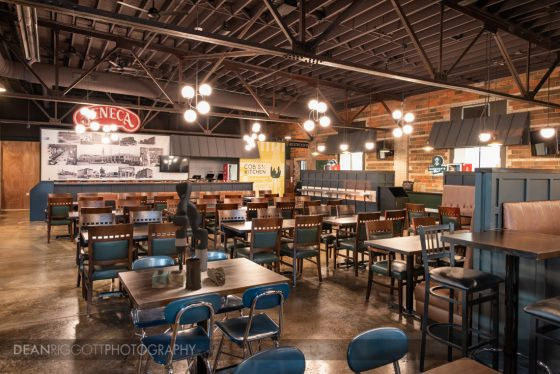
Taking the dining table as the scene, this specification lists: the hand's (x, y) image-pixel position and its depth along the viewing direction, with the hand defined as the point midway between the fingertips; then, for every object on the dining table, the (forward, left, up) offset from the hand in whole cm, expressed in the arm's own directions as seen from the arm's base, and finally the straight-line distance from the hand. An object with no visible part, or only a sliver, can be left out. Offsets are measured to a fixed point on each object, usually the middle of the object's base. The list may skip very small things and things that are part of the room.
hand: (180, 269), depth 257 cm
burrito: (-24, -4, -11) cm, 27 cm away
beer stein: (-9, +14, -11) cm, 20 cm away
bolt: (+3, 0, -2) cm, 4 cm away
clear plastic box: (+8, 0, -10) cm, 13 cm away
